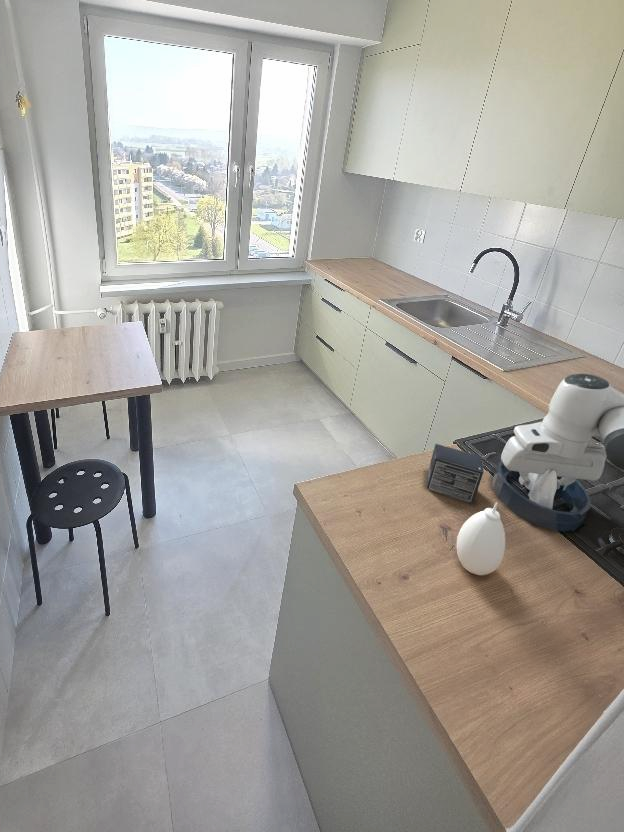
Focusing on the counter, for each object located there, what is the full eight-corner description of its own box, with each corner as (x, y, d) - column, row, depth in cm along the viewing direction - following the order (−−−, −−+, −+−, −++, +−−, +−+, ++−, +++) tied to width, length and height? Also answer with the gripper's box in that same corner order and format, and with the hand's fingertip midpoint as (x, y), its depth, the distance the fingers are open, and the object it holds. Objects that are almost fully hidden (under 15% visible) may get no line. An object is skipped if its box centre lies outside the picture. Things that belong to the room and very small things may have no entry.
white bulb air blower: (454, 579, 82) (479, 513, 75) (447, 545, 89) (469, 482, 82) (498, 591, 80) (528, 524, 73) (487, 555, 87) (513, 491, 80)
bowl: (553, 477, 109) (561, 459, 106) (599, 539, 92) (610, 519, 89) (479, 468, 111) (486, 450, 108) (511, 527, 94) (519, 508, 91)
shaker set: (549, 520, 95) (566, 484, 91) (528, 513, 97) (544, 476, 92) (542, 485, 105) (557, 451, 100) (523, 479, 107) (537, 445, 102)
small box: (471, 487, 104) (482, 455, 100) (472, 506, 99) (485, 473, 94) (426, 473, 108) (435, 441, 104) (425, 491, 103) (435, 458, 98)
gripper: (602, 436, 95) (579, 481, 101) (507, 425, 98) (491, 470, 103) (621, 455, 90) (596, 502, 95) (520, 443, 92) (502, 490, 97)
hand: (540, 485), depth 99 cm, fingers open, 7 cm apart
